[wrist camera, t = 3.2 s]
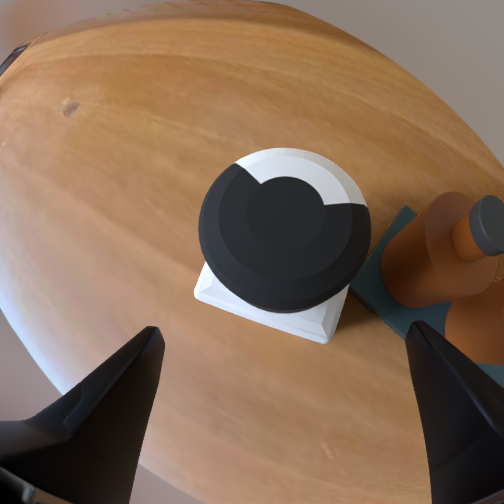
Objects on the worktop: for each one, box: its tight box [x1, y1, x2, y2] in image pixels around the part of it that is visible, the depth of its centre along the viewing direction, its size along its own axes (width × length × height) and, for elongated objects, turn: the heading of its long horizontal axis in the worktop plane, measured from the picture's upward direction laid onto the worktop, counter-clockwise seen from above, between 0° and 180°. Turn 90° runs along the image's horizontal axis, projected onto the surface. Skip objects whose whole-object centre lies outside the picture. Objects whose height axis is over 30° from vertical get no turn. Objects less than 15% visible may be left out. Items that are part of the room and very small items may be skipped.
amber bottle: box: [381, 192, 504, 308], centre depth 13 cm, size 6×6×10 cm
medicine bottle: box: [194, 148, 371, 344], centre depth 14 cm, size 7×7×12 cm
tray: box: [348, 205, 504, 388], centre depth 16 cm, size 8×24×1 cm, turn 47°
